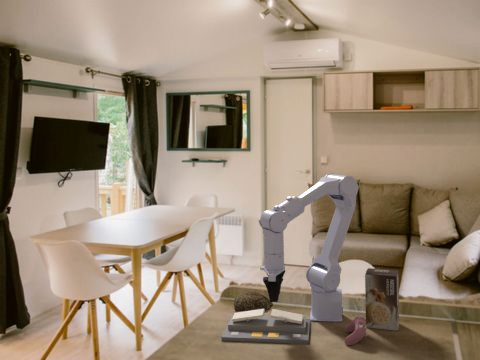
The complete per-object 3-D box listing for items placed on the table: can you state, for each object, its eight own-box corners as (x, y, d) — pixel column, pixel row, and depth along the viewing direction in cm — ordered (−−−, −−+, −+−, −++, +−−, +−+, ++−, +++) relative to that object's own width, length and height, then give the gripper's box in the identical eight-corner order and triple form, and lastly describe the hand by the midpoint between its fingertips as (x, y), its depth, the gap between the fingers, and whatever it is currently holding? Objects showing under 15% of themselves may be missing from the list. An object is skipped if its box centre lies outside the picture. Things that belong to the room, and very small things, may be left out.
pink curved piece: (358, 352, 139) (370, 330, 138) (343, 344, 139) (355, 322, 138) (357, 336, 148) (369, 316, 147) (343, 329, 149) (354, 308, 148)
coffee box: (399, 323, 153) (400, 270, 151) (397, 331, 147) (398, 276, 145) (368, 319, 157) (367, 267, 155) (364, 327, 151) (364, 273, 149)
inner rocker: (302, 318, 153) (302, 314, 152) (301, 325, 148) (302, 321, 148) (271, 312, 154) (272, 308, 154) (270, 319, 149) (270, 315, 149)
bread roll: (230, 312, 166) (229, 297, 166) (236, 299, 179) (236, 285, 178) (270, 314, 164) (269, 298, 164) (274, 300, 176) (273, 286, 176)
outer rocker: (265, 312, 154) (264, 308, 154) (263, 319, 149) (262, 314, 149) (235, 316, 156) (234, 312, 156) (232, 323, 151) (232, 319, 151)
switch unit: (309, 322, 156) (309, 314, 156) (308, 343, 141) (308, 335, 141) (231, 319, 160) (230, 311, 160) (221, 340, 145) (221, 331, 145)
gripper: (262, 245, 157) (264, 289, 158) (256, 258, 142) (258, 306, 144) (286, 245, 156) (287, 289, 157) (282, 259, 141) (283, 307, 143)
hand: (274, 298), depth 151 cm, fingers open, 5 cm apart
